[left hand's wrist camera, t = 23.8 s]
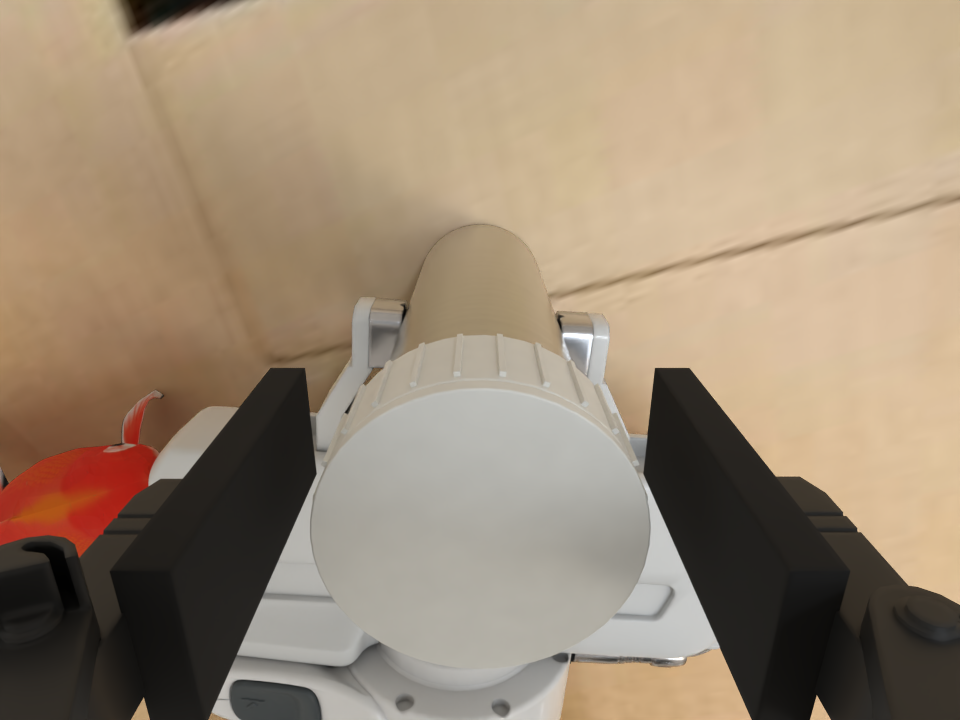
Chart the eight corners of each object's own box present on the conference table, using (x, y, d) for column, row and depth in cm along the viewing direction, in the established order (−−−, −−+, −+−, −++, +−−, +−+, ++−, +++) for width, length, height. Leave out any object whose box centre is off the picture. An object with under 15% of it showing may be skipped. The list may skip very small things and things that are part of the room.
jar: (528, 212, 24) (596, 363, 10) (549, 328, 26) (632, 595, 12) (407, 238, 25) (308, 419, 10) (435, 350, 26) (384, 636, 12)
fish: (273, 646, 26) (2, 816, 17) (55, 584, 33) (-215, 682, 25) (260, 389, 26) (-28, 430, 17) (41, 382, 33) (-242, 408, 24)
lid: (683, 471, 13) (726, 549, 10) (475, 623, 14) (473, 720, 12) (487, 266, 11) (489, 306, 9) (276, 461, 13) (232, 538, 10)
